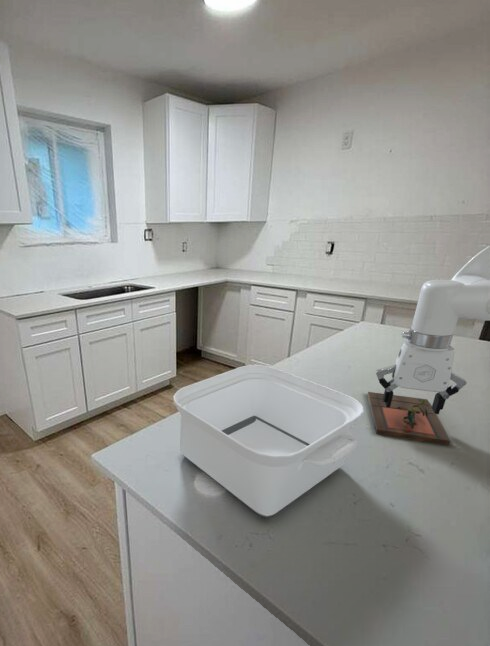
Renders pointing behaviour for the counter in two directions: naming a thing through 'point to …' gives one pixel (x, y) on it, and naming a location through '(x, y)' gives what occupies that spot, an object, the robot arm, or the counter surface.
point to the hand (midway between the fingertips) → (410, 407)
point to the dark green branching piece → (413, 412)
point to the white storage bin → (265, 433)
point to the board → (394, 425)
